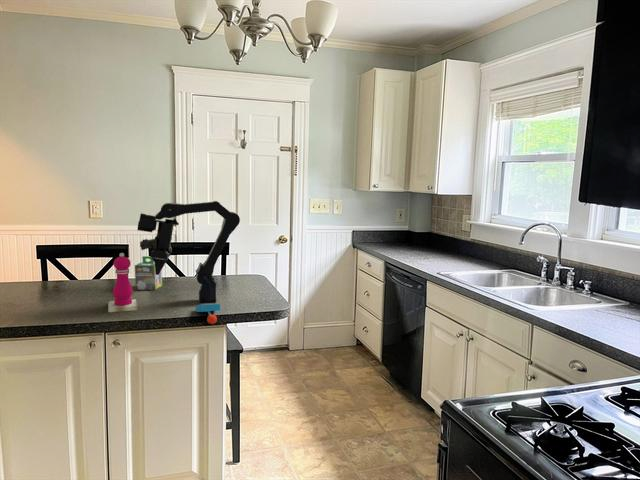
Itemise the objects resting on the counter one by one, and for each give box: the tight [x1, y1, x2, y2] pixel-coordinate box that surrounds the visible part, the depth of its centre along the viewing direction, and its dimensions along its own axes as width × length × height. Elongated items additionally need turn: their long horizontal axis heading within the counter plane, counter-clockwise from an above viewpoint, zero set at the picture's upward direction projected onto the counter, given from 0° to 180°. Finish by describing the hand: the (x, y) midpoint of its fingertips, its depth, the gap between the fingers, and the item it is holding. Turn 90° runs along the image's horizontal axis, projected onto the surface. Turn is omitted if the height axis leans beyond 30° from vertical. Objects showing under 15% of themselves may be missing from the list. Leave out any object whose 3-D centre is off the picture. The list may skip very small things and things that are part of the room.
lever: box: [195, 303, 221, 325], centre depth 173 cm, size 7×7×18 cm
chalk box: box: [134, 255, 163, 291], centre depth 212 cm, size 9×9×15 cm
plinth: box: [107, 299, 138, 313], centre depth 181 cm, size 10×10×2 cm
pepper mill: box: [112, 252, 134, 306], centre depth 179 cm, size 7×7×20 cm
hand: (158, 272), depth 186 cm, fingers open, 9 cm apart
